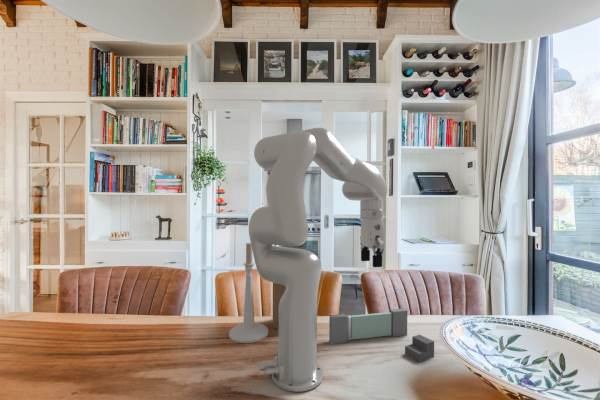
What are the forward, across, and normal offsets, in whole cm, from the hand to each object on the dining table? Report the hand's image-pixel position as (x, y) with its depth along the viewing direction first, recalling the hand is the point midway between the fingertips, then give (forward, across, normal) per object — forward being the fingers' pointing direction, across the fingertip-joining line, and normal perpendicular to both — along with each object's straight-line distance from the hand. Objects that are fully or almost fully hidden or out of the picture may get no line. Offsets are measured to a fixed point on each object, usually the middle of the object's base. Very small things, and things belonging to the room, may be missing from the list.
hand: (371, 263), depth 105 cm
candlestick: (+22, +2, +42) cm, 47 cm away
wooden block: (+22, +6, +28) cm, 36 cm away
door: (+21, -9, +5) cm, 23 cm away
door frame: (+22, -9, +5) cm, 24 cm away
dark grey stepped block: (+22, -21, -5) cm, 31 cm away
